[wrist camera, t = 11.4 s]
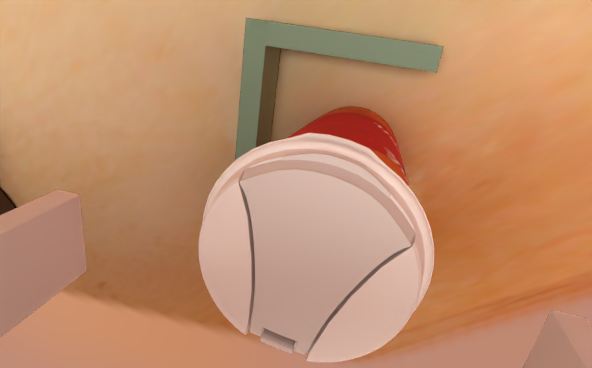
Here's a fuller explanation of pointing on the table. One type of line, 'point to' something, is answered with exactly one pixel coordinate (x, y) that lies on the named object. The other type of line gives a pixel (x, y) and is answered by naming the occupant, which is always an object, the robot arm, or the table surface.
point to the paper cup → (318, 239)
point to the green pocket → (273, 36)
